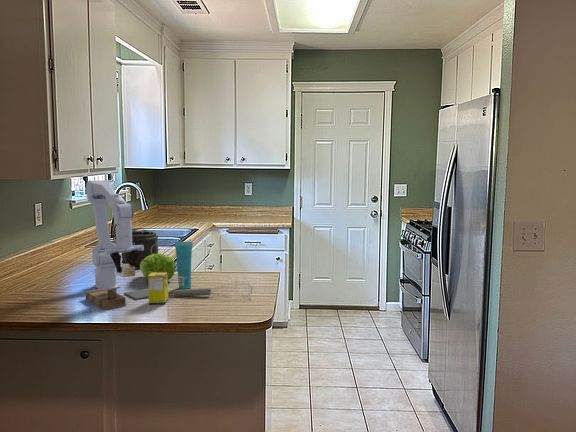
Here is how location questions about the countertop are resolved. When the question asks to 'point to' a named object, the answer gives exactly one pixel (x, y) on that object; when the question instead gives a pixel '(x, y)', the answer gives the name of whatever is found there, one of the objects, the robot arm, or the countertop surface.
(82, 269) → the countertop surface
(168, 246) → the countertop surface
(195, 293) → the kitchen whisk
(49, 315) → the countertop surface
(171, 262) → the lettuce
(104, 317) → the countertop surface
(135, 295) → the charcoal mat
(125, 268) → the lever cap
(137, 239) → the dark speckled bucket
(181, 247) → the tube
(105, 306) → the walnut plane
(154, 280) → the supplement box
